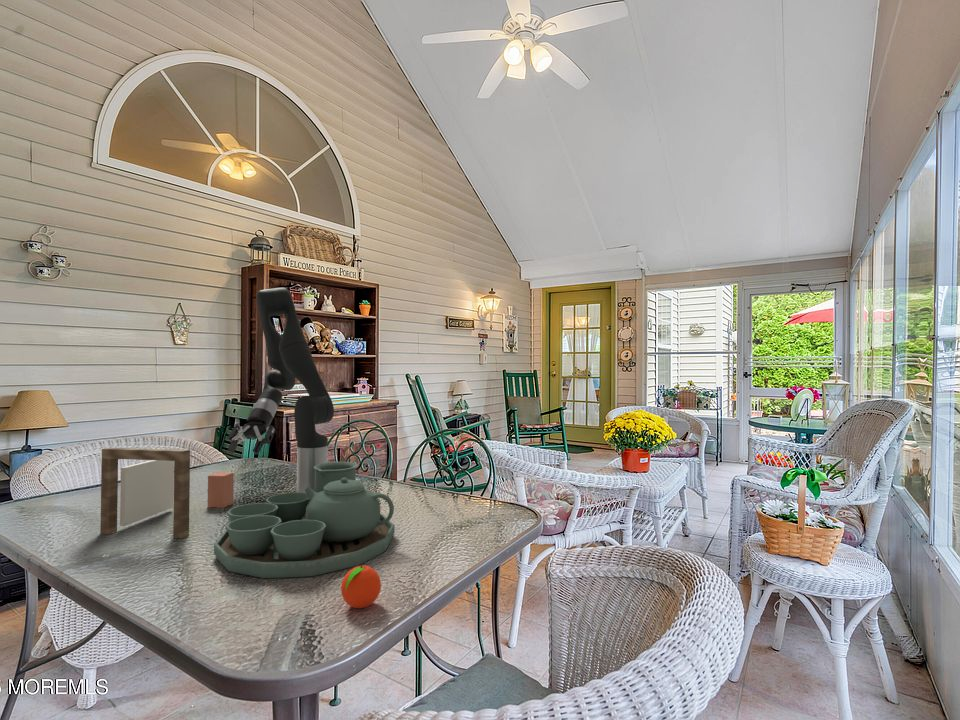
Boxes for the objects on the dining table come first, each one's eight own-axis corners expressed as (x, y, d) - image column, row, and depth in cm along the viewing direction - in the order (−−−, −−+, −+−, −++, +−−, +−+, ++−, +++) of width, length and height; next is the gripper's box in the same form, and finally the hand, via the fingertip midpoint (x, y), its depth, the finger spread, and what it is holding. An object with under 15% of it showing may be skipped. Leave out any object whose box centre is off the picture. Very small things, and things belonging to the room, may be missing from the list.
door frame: (188, 535, 125) (190, 449, 125) (182, 538, 123) (183, 451, 123) (108, 530, 128) (109, 447, 128) (100, 534, 125) (101, 448, 126)
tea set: (225, 529, 130) (226, 466, 130) (379, 514, 144) (380, 457, 145) (200, 595, 93) (201, 506, 93) (410, 565, 107) (410, 489, 108)
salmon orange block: (233, 503, 154) (233, 472, 154) (223, 508, 149) (223, 476, 149) (218, 502, 154) (218, 472, 155) (207, 507, 150) (208, 475, 150)
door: (165, 507, 146) (166, 455, 146) (173, 507, 146) (174, 456, 146) (115, 525, 129) (116, 467, 129) (124, 526, 128) (125, 467, 129)
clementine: (362, 622, 83) (362, 579, 83) (328, 614, 86) (328, 572, 86) (388, 601, 91) (388, 561, 91) (356, 594, 93) (356, 556, 93)
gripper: (239, 406, 173) (217, 445, 161) (277, 407, 171) (258, 446, 159) (247, 420, 178) (227, 458, 166) (285, 421, 176) (267, 459, 165)
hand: (242, 452), depth 163 cm, fingers open, 8 cm apart
